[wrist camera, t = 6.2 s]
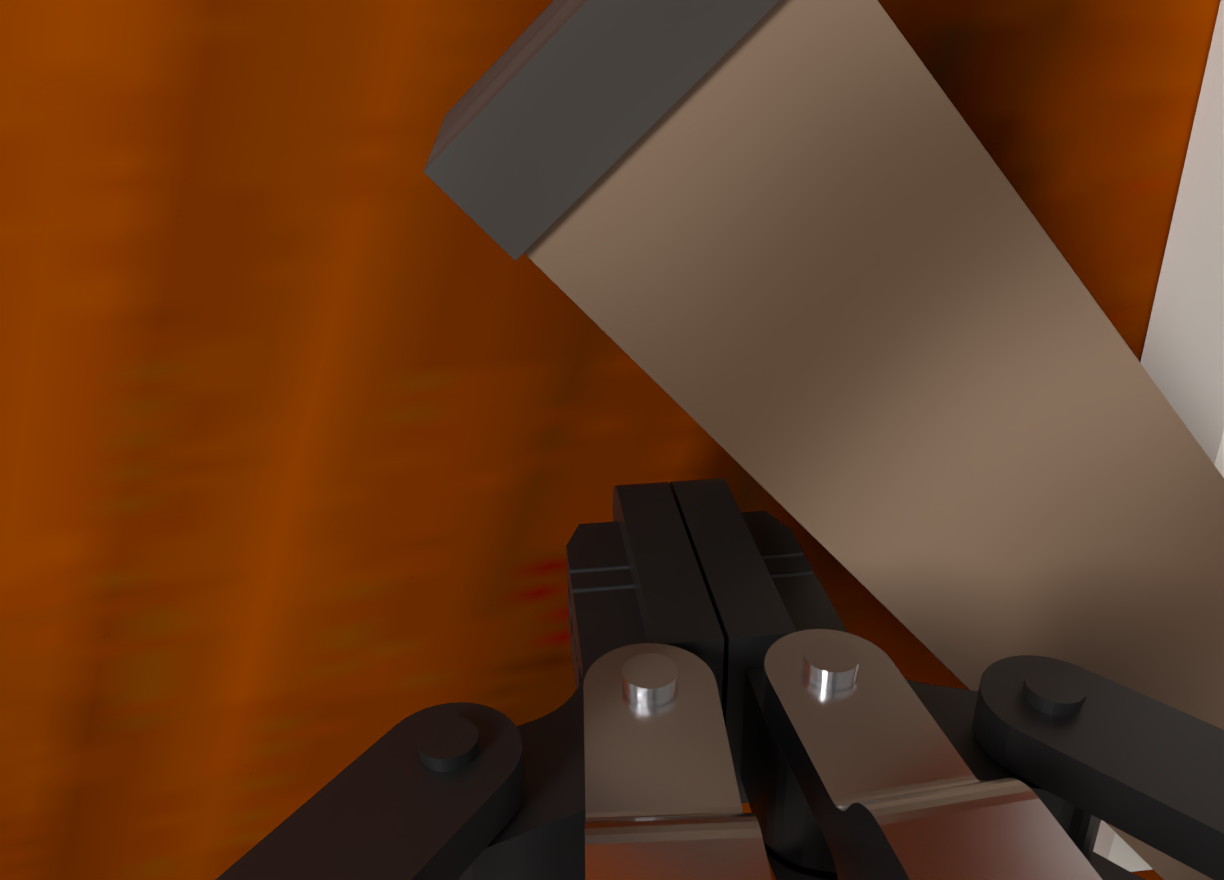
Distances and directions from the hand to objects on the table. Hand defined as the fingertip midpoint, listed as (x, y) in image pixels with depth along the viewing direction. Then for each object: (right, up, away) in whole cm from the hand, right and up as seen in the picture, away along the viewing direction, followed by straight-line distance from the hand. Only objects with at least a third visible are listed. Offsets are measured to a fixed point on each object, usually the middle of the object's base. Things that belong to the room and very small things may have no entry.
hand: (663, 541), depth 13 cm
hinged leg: (+6, 0, +3) cm, 7 cm away
